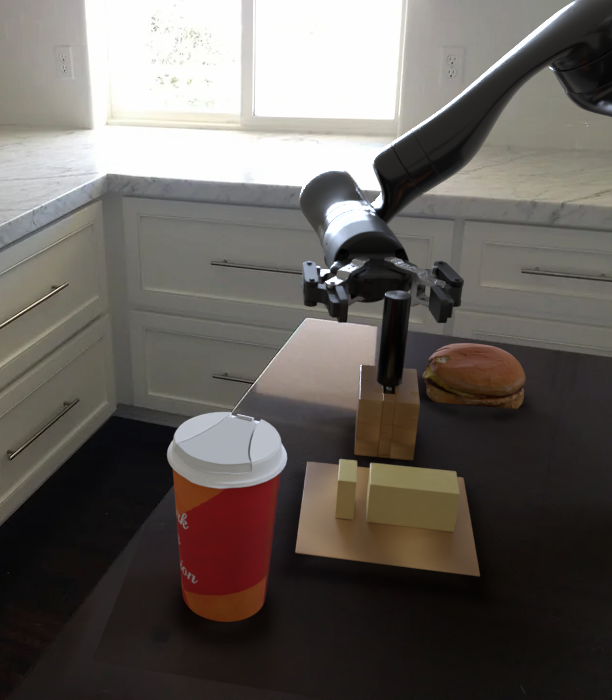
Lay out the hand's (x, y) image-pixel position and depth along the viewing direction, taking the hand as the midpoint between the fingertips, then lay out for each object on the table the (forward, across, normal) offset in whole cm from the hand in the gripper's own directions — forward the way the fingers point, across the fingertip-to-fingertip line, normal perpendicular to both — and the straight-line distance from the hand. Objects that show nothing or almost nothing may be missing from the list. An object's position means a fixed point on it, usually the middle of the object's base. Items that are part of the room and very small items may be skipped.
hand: (394, 312), depth 75 cm
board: (+13, -2, +13) cm, 19 cm away
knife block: (+1, 0, +13) cm, 13 cm away
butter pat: (+12, -4, +12) cm, 18 cm away
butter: (+13, 0, +12) cm, 18 cm away
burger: (-10, +11, +14) cm, 20 cm away
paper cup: (+22, -15, +14) cm, 30 cm away
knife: (+1, 0, +13) cm, 13 cm away
